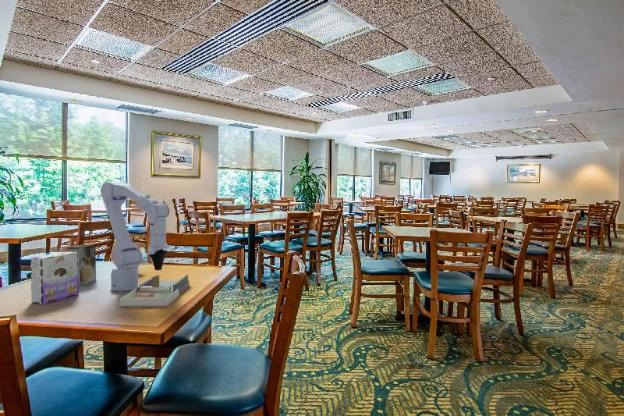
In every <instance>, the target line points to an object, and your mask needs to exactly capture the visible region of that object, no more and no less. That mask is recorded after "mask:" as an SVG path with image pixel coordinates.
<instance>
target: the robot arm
mask: <svg viewBox="0 0 624 416" xmlns="http://www.w3.org/2000/svg"><path fill="white" fill-rule="evenodd" d="M100 194H101V198H102V201H103V204H104V205H105V209H106V212H107V216H108V219H109V222H110V226H111V229H112V232H113V236H114V240H115V243H116V246H115V247H114V249H113V250H111V252H112V262H113V264H114V266H115V267H113V268H112V270H111V273H110V288H111V289H110V292H111V291H113V292H117V291H119V292H122V291H124V292H125V291H128V292H131V291H133V290H135V289H136V290H137V289H140V284H139V266H140V265H141V263H142V261H143V257H144V256H143V253H142V251H141V249H140V247H139V244H137V243H135V242H134V241H132V239H131V236H130V233H129V228H128V226H127V224H126V220H125V216H124V212H123V210H122V205H124V204H125V203H126V202H127V200H128V199H130V200H132V201H133V202H135V206H137V208H139V209H140V210H142V211H143V212H145V213H146V216H147V218H148V219H147V221H148V223H149V246H148V249H147V255H149V257H150V259H151V262H152V263H153V269H154V271H162V269H163V265H164V260H165V258H166V255H167V254H168V250H165V249H169V248H170V245H168V243H167V217H168V216H169V215H170V207H169V205H168V204H166V203H165V202H161V203H160V202H159V201H158V200H157V199H154V198H152V197H151V195H150V194H147V193H145V194H142V193H140V192H139V191H137V190H136V189H135V188H133V185H132V184H131V183H130V182H127V181H125V182H123V181H122V182H121V181H120V182H117V181H116V182H114V181H104V182H103V183H102V185H101V188H100ZM133 242H134V243H133ZM139 249H140V250H139Z"/></svg>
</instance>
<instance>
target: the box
mask: <svg viewBox="0 0 624 416" xmlns="http://www.w3.org/2000/svg"><path fill="white" fill-rule="evenodd" d="M155 293H157V292H154V294H155ZM138 294H140V293H139V292H137V289H135V290H133V291H129V292H128V293H126V294H125V295H123V296H122V297H120V298H119V299H120V301H119V303H120V306H119V307H120V308H121V307H122V308H126V307H127V308H131V307H132V308H135V307H136V308H139V307H142V308H145V307H152V308H153V307H154V308H155V307H158V308H159V307H160V308H161V307H166V308H167V307H169V306H170V305H171V304H172V303H174V302H175V301H176V300H177V299H178V298H179V297H180V294H179V289H177V290H176V291H174V292H169V296H168V297H167V298H154V297H153V298H138Z"/></svg>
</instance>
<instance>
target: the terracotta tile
mask: <svg viewBox="0 0 624 416" xmlns="http://www.w3.org/2000/svg"><path fill="white" fill-rule="evenodd" d="M153 297H154V292H141V293H140V294H138V298H153Z"/></svg>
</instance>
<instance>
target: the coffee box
mask: <svg viewBox="0 0 624 416" xmlns="http://www.w3.org/2000/svg"><path fill="white" fill-rule="evenodd" d="M66 252H78V281H79V286H83V285H86V284H89V283H92V282H96V281H97V263H96V261H97V260H96V259H97V257H96V245H95V244H80V245H79V244H78V245H72V246H67V247H66Z"/></svg>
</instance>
